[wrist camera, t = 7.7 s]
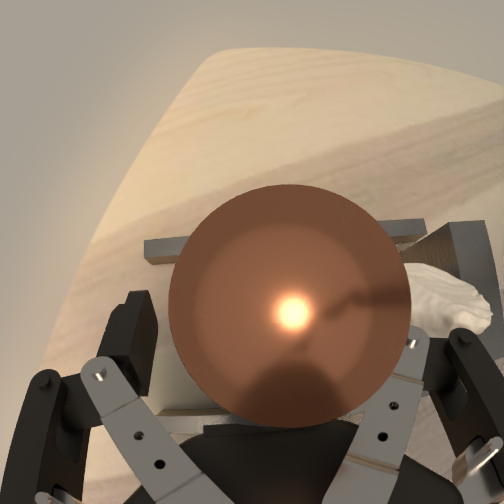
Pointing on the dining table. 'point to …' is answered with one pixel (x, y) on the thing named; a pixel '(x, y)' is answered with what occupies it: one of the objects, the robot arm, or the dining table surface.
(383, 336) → the handle
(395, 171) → the dining table surface
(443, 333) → the white tapered sculpture
